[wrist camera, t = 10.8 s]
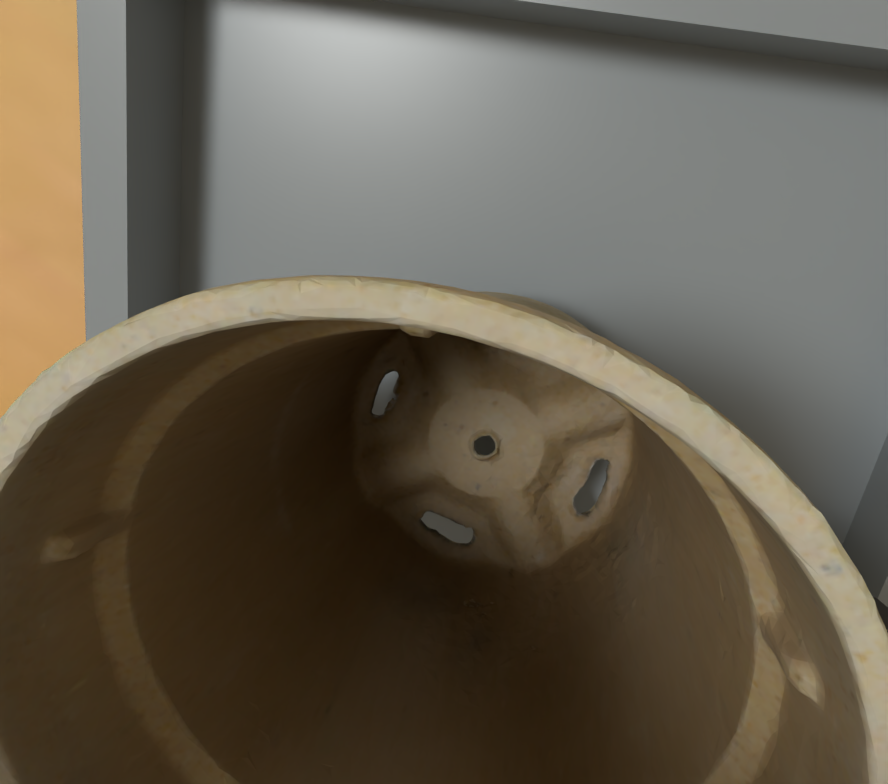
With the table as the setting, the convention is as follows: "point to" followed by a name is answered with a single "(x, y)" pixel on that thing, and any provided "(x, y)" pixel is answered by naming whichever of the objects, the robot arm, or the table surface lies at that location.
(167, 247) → the tray
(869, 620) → the flower pot
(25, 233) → the table surface
